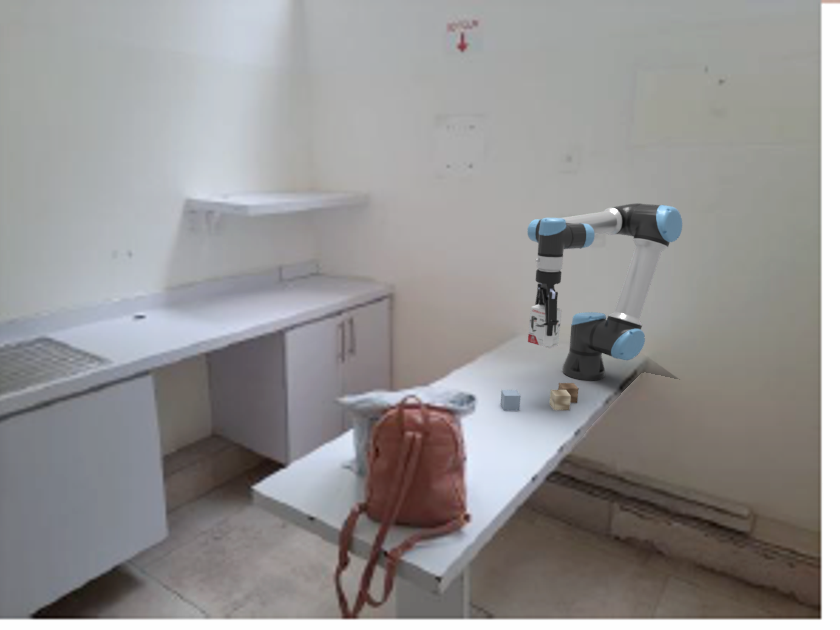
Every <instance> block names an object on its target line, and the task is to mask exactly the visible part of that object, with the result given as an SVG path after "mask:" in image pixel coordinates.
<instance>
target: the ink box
mask: <svg viewBox="0 0 840 630" xmlns="http://www.w3.org/2000/svg"><path fill="white" fill-rule="evenodd" d="M562 312H563V311H562V309H561V308H559V307H557V325H554V331H553V343H552V346H543V337H544V325H543V324H544V323H546V318H545V305H539V304H538V305H535V304H534V305H532V306H530V314H529V324H528V336H527V342H528V343H529V344H530V343H531V344H534V345H537V346H541V347H544V348H548V349H551V348H554V347H557V346H559V339H560V331H561V321H562V319H561V318H562ZM551 321H552V320H551Z"/></svg>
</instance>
